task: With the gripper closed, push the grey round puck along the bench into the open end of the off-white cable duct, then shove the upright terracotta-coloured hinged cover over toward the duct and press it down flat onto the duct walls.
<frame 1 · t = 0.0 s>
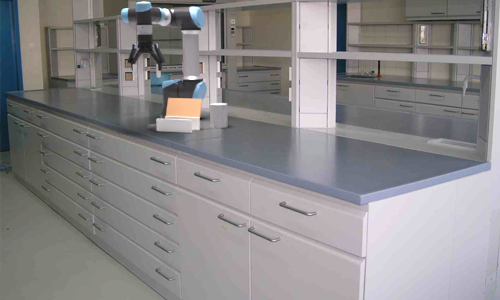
hand: (146, 77, 276), 28 cm above the worktop, fingers open, 13 cm apart
grey round puck: (153, 129, 291), on the worktop
duct cover: (184, 107, 290), point 11 cm above the worktop, hinge at 110.0°
grey concrete cylinder: (218, 127, 297), on the worktop
duct: (178, 130, 285), on the worktop
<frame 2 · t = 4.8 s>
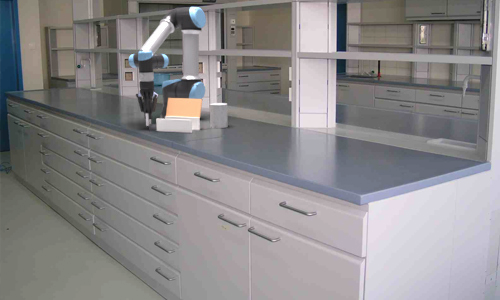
hand: (148, 125, 291), 2 cm above the worktop, fingers closed
grey round puck: (155, 129, 290), on the worktop, touching gripper
everything else where it was.
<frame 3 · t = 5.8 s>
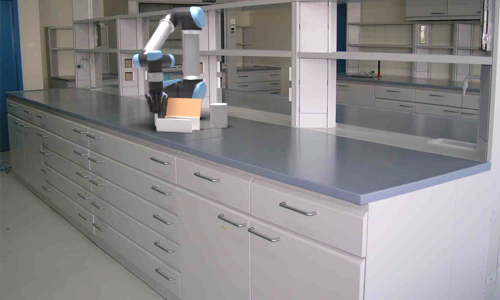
hand: (157, 125, 289), 2 cm above the worktop, fingers closed
grey round puck: (163, 129, 288), on the worktop, touching gripper
everything else where it was.
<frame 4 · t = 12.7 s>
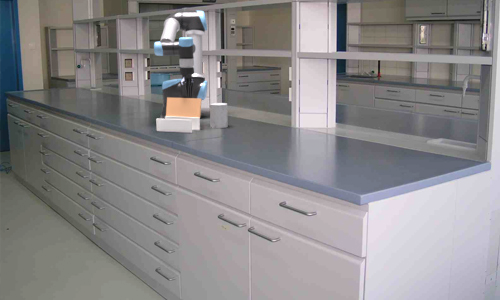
hand: (188, 111, 294), 9 cm above the worktop, fingers closed
grey round puck: (166, 130, 288), on the worktop
duct cover: (183, 107, 289), point 11 cm above the worktop, hinge at 103.4°, touching duct, gripper, hand
everything else where it was.
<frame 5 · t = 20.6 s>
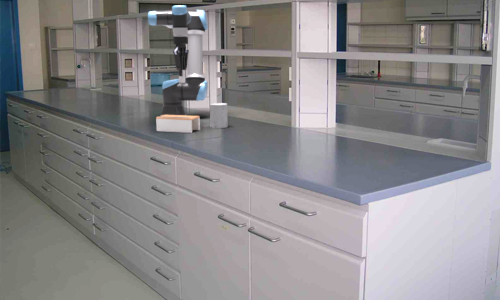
hand: (182, 82, 286), 24 cm above the worktop, fingers closed
duct cover: (177, 117, 284), point 7 cm above the worktop, hinge at 0.0°, touching duct
everything else where it was.
at the end: duct cover at +0° (first picture: +110°); grey round puck inside the target area (6.8 cm from its centre), on the worktop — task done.
